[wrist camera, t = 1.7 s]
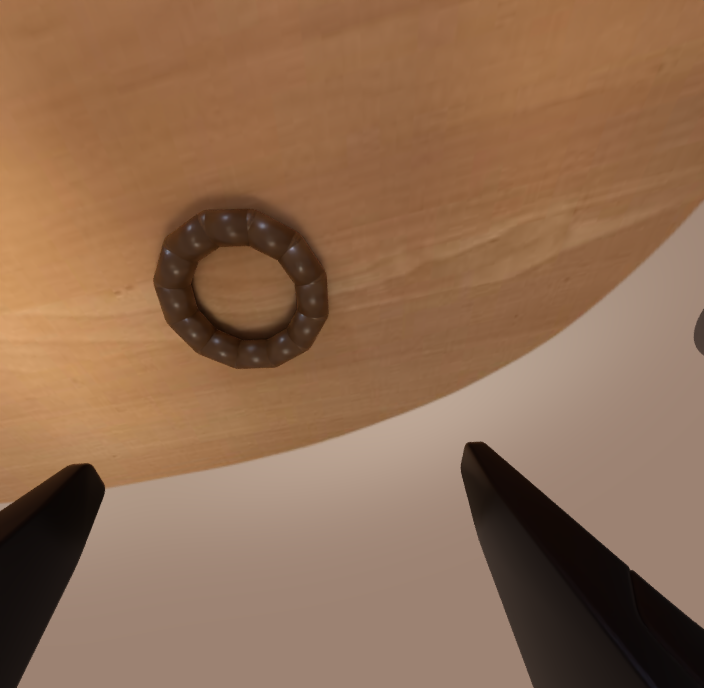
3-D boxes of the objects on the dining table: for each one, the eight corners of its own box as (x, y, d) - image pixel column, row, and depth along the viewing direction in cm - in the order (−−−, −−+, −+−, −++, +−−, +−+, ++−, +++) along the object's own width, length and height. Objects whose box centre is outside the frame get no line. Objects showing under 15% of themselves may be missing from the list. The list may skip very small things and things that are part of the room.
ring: (323, 204, 16) (322, 210, 14) (331, 355, 20) (331, 371, 19) (141, 209, 16) (122, 214, 14) (188, 360, 20) (177, 376, 19)
